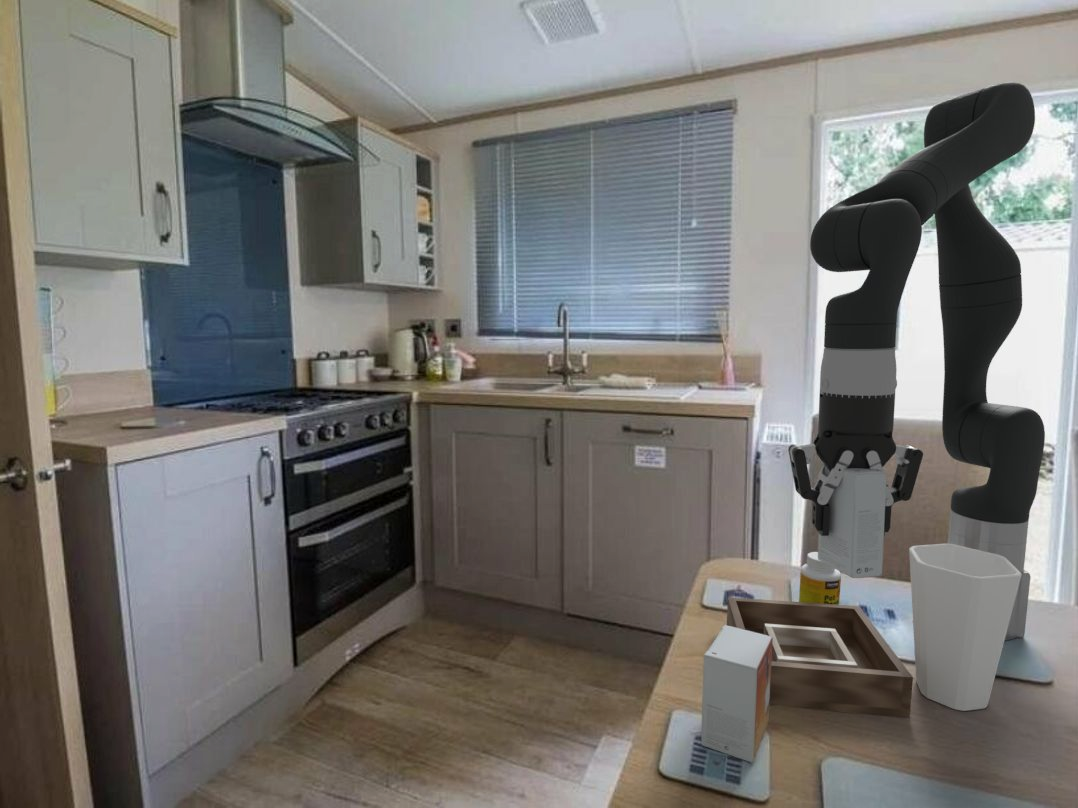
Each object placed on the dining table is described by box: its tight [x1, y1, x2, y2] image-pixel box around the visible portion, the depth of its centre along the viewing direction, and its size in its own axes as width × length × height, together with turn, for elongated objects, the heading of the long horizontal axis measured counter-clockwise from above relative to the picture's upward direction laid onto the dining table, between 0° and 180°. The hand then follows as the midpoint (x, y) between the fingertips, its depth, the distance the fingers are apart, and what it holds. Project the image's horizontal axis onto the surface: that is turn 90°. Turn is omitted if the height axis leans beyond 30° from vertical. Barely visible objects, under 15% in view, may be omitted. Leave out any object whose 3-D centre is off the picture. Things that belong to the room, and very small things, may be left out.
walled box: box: [726, 596, 914, 719], centre depth 81 cm, size 18×18×5 cm
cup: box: [908, 543, 1022, 712], centre depth 74 cm, size 11×10×17 cm
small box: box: [700, 624, 773, 764], centre depth 67 cm, size 8×6×10 cm
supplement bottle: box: [798, 551, 842, 605], centre depth 93 cm, size 6×6×10 cm
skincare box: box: [817, 462, 887, 579], centre depth 71 cm, size 6×4×12 cm
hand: (849, 533), depth 71 cm, fingers closed on skincare box, 5 cm apart
